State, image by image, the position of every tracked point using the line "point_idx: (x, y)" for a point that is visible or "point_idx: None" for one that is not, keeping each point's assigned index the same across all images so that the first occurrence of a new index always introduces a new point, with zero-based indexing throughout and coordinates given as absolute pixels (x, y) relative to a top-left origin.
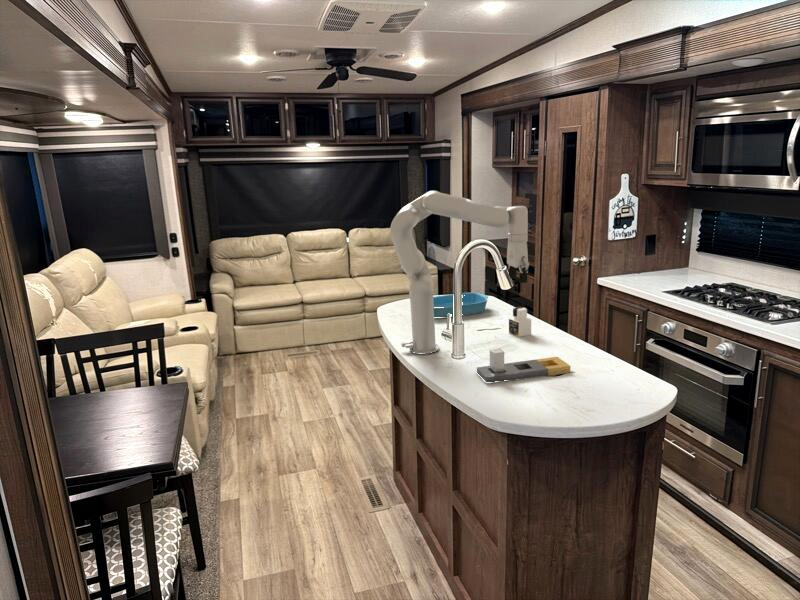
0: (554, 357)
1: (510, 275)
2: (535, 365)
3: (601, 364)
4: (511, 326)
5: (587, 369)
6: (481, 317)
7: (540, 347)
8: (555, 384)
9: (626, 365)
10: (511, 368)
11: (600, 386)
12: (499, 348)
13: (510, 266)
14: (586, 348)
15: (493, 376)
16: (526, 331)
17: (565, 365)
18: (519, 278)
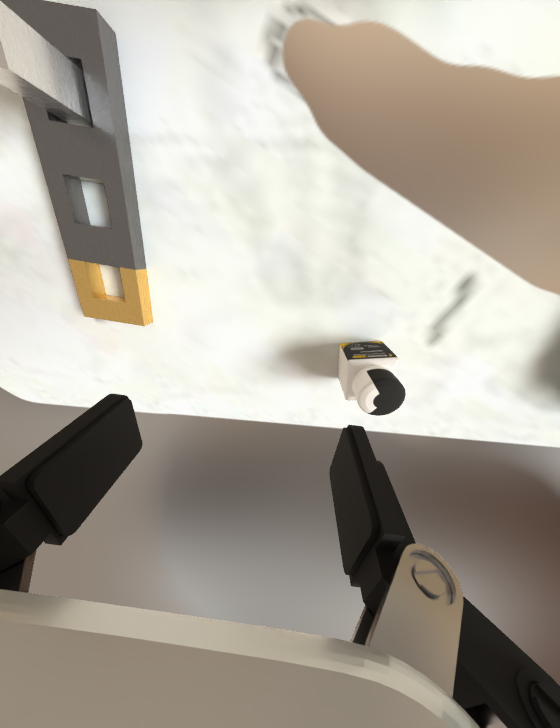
0: (140, 317)
1: (348, 451)
2: (94, 242)
3: (128, 383)
4: (375, 349)
5: (108, 349)
6: (554, 351)
7: (252, 346)
8: (30, 241)
9: None
10: (77, 156)
11: (23, 318)
12: (6, 64)
13: (386, 594)
14: (211, 410)
15: None
16: (340, 370)
17: (87, 308)
18: (81, 421)
